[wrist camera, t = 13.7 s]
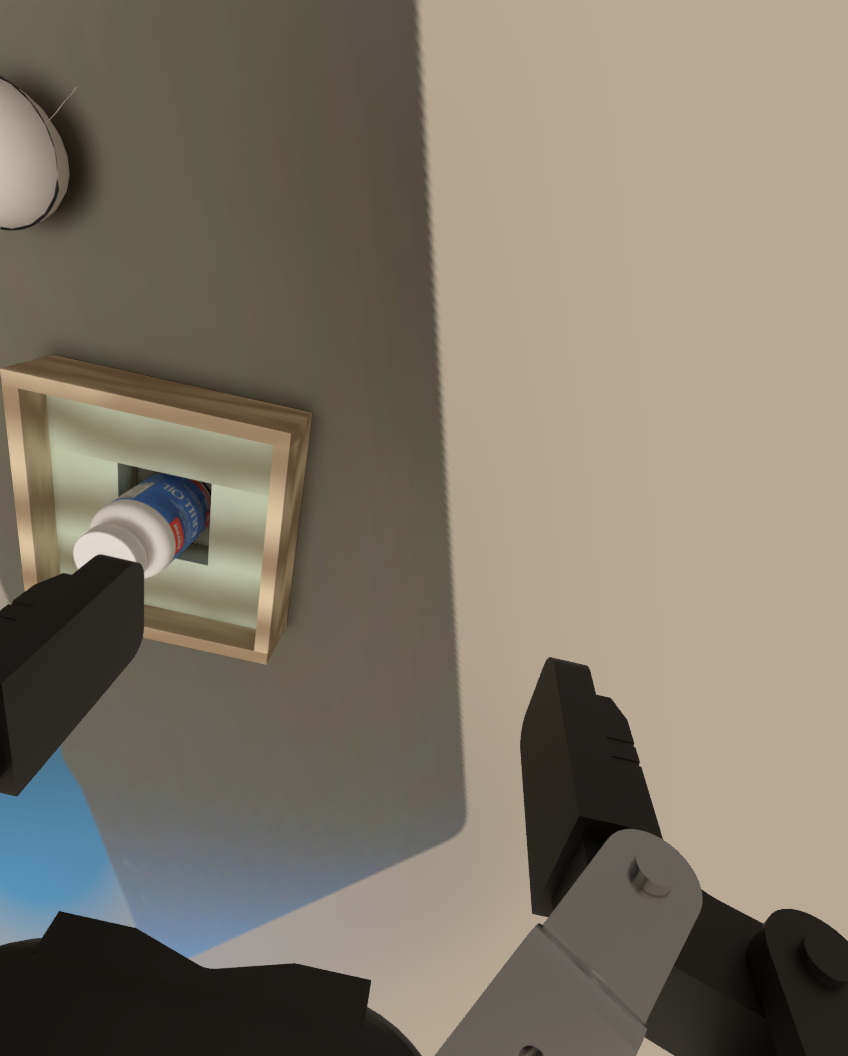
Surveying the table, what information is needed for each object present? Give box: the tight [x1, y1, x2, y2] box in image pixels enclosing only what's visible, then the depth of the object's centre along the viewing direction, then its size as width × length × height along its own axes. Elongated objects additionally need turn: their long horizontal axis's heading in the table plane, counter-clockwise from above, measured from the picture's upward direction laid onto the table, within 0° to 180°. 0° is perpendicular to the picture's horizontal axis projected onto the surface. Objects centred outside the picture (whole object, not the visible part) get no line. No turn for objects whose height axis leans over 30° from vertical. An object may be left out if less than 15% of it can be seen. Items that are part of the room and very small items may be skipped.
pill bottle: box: [73, 472, 211, 579], centre depth 40 cm, size 6×5×10 cm
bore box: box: [0, 355, 312, 664], centre depth 42 cm, size 18×18×5 cm
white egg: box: [0, 76, 78, 230], centre depth 32 cm, size 10×7×7 cm
